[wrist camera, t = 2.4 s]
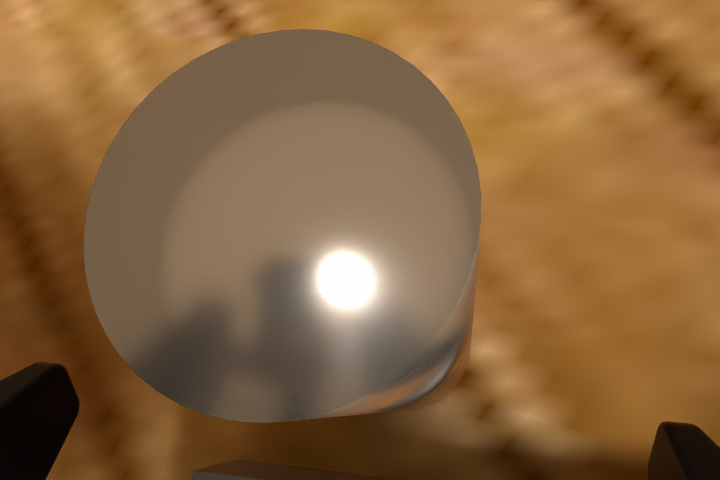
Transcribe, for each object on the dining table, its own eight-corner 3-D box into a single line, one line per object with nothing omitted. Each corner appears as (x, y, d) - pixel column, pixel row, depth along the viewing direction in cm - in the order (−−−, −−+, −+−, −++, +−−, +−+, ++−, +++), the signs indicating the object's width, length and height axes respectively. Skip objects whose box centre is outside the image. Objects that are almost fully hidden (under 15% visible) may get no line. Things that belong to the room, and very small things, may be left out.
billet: (431, 435, 17) (340, 518, 5) (320, 368, 18) (10, 289, 6) (492, 318, 18) (558, 115, 5) (382, 260, 19) (220, -18, 6)
